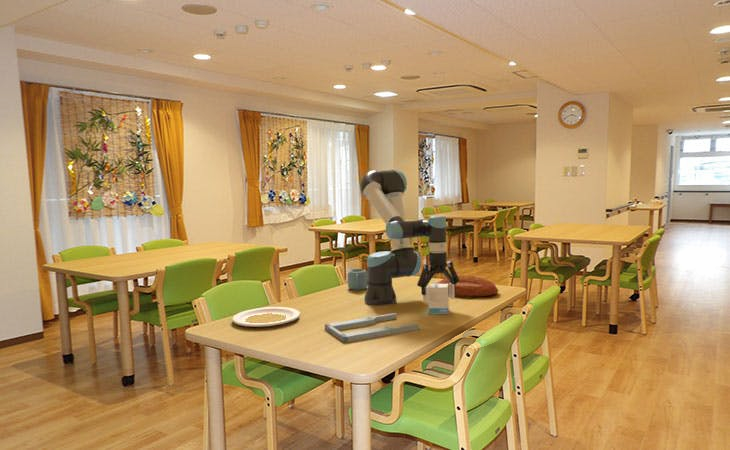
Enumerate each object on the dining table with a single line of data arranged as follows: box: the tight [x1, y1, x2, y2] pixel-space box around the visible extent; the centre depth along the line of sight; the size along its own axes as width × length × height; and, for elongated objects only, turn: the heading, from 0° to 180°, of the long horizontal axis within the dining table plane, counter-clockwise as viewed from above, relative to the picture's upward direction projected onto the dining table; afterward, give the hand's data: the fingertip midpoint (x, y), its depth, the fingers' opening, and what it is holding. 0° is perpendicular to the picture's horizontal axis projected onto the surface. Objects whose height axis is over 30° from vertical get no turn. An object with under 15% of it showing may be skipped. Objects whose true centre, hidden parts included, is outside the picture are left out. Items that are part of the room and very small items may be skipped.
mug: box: [347, 268, 368, 291], centre depth 268 cm, size 15×11×10 cm
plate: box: [232, 306, 301, 328], centre depth 214 cm, size 28×28×2 cm
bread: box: [437, 274, 499, 298], centre depth 253 cm, size 23×32×9 cm
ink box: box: [427, 280, 450, 315], centre depth 219 cm, size 9×8×13 cm
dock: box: [324, 312, 420, 344], centre depth 196 cm, size 19×32×2 cm, turn 116°
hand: (438, 300), depth 219 cm, fingers open, 13 cm apart
